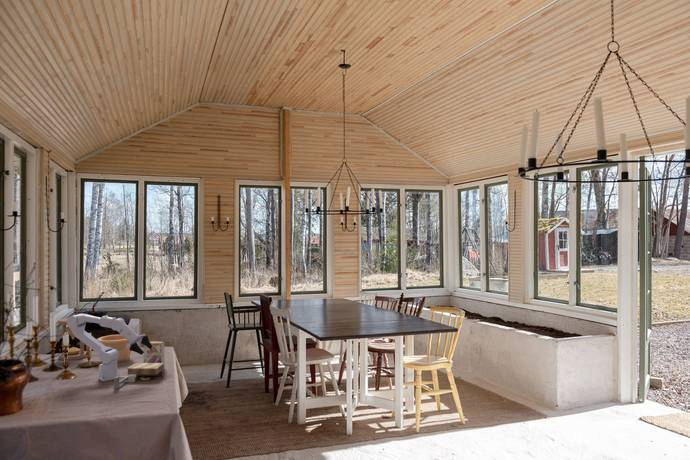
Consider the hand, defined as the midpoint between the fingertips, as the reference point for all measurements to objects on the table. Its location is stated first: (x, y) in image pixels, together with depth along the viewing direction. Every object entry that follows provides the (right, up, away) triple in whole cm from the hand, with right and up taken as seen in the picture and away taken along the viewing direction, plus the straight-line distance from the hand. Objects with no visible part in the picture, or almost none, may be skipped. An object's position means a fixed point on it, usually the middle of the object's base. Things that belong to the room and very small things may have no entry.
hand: (147, 350), depth 311 cm
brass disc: (-2, -17, +2) cm, 17 cm away
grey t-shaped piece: (-10, -16, -10) cm, 22 cm away
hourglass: (-69, -17, +56) cm, 90 cm away
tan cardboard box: (-2, -16, +4) cm, 17 cm away
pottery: (-37, -16, +47) cm, 62 cm away
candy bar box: (-4, -16, +22) cm, 28 cm away
